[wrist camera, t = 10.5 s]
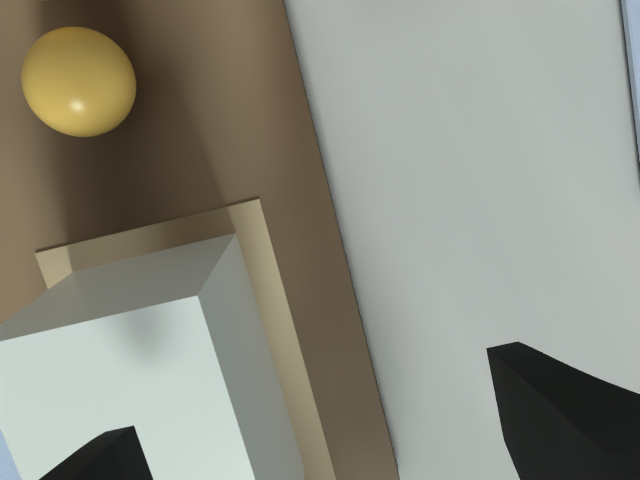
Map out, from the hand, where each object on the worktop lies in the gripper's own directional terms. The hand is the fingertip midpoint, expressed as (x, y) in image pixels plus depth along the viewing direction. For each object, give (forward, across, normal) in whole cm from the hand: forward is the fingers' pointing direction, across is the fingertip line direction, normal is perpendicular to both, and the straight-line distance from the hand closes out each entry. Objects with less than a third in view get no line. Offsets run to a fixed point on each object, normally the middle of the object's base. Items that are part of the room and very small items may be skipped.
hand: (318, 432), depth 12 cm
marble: (+7, +5, -8) cm, 12 cm away
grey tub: (+8, +5, +2) cm, 10 cm away
